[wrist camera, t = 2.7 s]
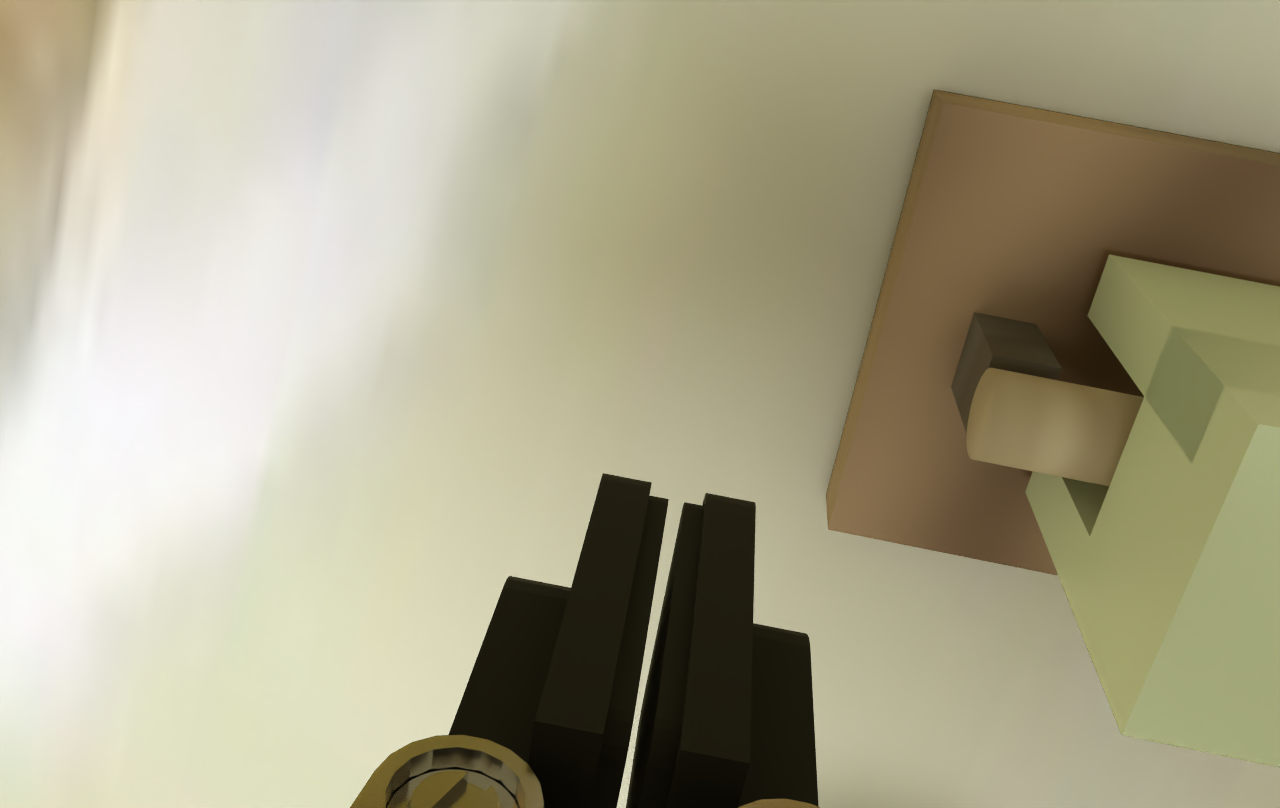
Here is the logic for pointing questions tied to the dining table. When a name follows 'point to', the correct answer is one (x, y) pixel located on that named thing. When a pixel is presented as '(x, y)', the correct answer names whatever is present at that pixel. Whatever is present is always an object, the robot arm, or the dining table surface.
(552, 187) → the dining table surface
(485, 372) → the dining table surface
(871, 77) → the dining table surface
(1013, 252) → the rail
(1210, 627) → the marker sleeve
